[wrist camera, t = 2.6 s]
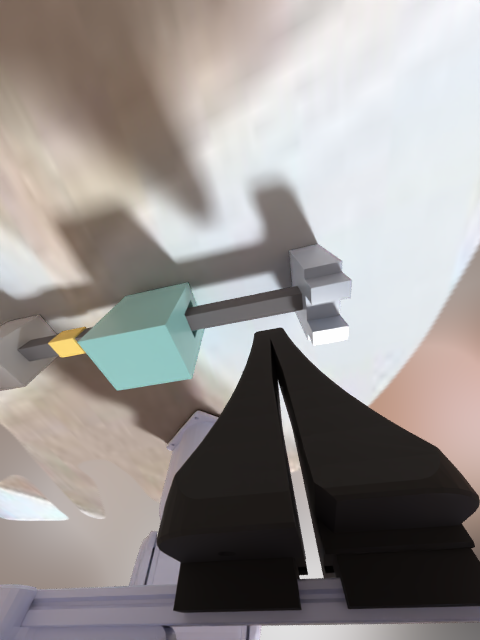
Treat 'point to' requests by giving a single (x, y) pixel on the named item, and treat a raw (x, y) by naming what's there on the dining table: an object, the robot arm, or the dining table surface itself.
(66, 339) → the shaft
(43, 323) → the grey cube
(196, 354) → the sleeve
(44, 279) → the dining table surface
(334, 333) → the grey notched jaw block
